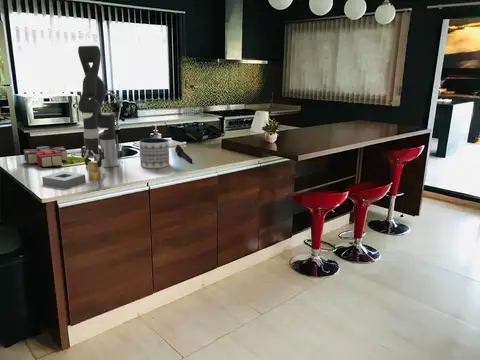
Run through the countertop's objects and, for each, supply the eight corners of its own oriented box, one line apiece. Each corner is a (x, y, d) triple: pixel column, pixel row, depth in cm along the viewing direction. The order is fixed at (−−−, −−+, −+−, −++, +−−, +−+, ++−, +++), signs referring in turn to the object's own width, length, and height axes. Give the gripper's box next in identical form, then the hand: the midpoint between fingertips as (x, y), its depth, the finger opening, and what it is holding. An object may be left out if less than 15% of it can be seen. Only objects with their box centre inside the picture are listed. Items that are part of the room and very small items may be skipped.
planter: (137, 168, 245) (135, 142, 240) (145, 161, 262) (143, 137, 258) (165, 169, 244) (164, 143, 240) (171, 162, 262) (171, 138, 257)
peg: (94, 177, 221) (93, 160, 219) (101, 178, 220) (99, 161, 217) (89, 179, 217) (87, 162, 215) (95, 180, 216) (93, 163, 213)
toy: (73, 167, 250) (62, 156, 273) (72, 152, 247) (61, 143, 270) (31, 172, 236) (23, 160, 259) (29, 156, 233) (21, 146, 256)
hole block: (63, 178, 220) (63, 171, 219) (85, 181, 214) (85, 174, 213) (42, 184, 207) (42, 177, 206) (65, 188, 201) (64, 180, 200)
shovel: (194, 164, 261) (194, 153, 259) (188, 164, 259) (188, 153, 257) (178, 153, 291) (178, 143, 289) (173, 153, 290) (173, 143, 288)
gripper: (106, 137, 213) (108, 166, 217) (86, 135, 218) (88, 163, 222) (96, 138, 206) (98, 168, 210) (76, 136, 212) (78, 166, 216)
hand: (93, 166), depth 216 cm, fingers open, 8 cm apart
